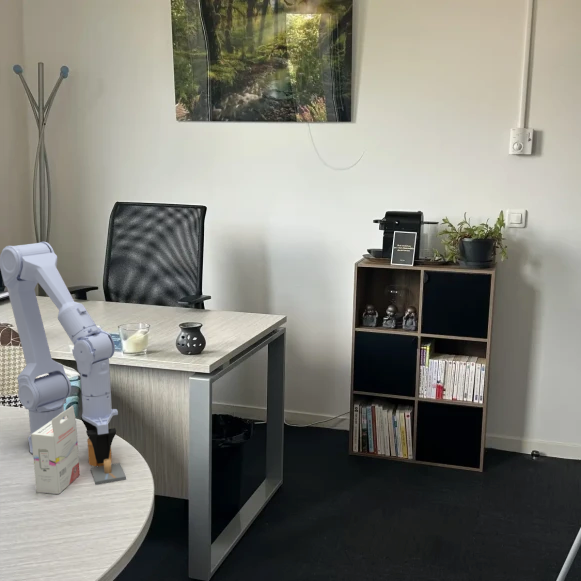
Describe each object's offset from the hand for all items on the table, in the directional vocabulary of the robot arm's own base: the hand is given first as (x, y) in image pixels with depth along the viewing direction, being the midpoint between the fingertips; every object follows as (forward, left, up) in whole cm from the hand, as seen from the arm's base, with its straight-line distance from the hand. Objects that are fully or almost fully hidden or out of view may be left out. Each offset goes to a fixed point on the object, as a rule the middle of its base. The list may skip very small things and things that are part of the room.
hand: (99, 455), depth 151 cm
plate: (+7, 0, -1) cm, 7 cm away
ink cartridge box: (+7, -9, -2) cm, 12 cm away
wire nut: (0, 0, -1) cm, 1 cm away
